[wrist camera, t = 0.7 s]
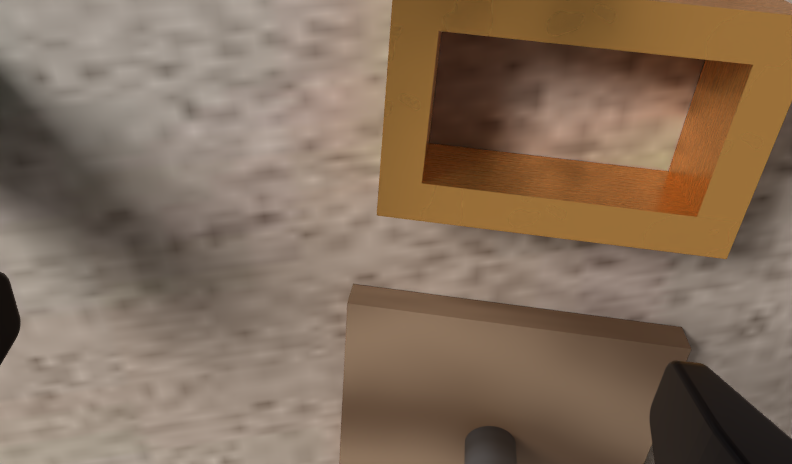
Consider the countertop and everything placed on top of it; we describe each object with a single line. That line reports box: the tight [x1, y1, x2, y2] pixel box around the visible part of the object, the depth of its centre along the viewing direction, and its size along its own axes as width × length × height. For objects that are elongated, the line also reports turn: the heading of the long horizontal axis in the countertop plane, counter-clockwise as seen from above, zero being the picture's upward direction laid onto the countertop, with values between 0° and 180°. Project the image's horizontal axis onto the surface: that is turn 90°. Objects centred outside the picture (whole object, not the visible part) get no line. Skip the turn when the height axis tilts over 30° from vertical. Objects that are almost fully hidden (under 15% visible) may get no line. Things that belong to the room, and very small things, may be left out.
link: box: [377, 0, 792, 259], centre depth 18 cm, size 7×10×3 cm, turn 85°
